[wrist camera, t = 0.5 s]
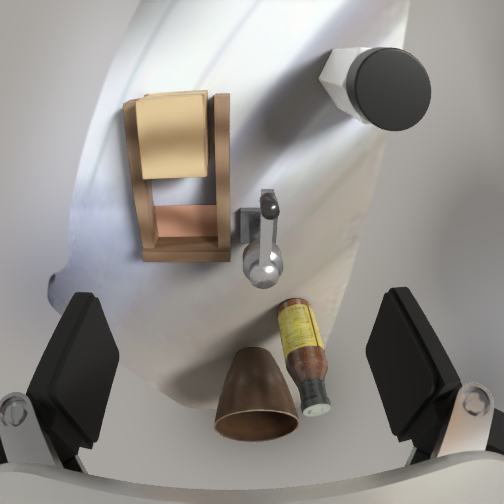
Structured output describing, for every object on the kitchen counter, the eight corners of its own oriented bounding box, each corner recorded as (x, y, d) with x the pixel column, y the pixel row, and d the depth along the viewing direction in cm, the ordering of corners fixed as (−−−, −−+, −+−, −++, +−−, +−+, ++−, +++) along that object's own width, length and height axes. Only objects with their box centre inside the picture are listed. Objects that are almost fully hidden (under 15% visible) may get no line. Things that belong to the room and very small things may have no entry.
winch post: (240, 207, 43) (241, 250, 35) (277, 208, 44) (286, 249, 35) (240, 238, 46) (241, 285, 38) (275, 238, 46) (283, 284, 38)
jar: (364, 122, 37) (406, 150, 27) (309, 93, 35) (337, 110, 25) (393, 66, 32) (446, 76, 22) (339, 33, 30) (379, 27, 20)
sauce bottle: (269, 313, 55) (280, 415, 39) (292, 290, 52) (312, 396, 36) (297, 326, 57) (315, 423, 41) (320, 305, 55) (346, 404, 38)
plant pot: (282, 378, 68) (289, 441, 54) (215, 375, 66) (213, 441, 53) (296, 336, 59) (309, 409, 46) (217, 332, 58) (214, 408, 45)
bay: (130, 100, 34) (120, 105, 31) (229, 93, 34) (228, 97, 31) (149, 245, 46) (143, 261, 43) (230, 245, 47) (230, 261, 43)
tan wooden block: (148, 93, 34) (133, 100, 29) (209, 89, 34) (203, 95, 29) (154, 162, 39) (141, 180, 34) (210, 160, 39) (206, 177, 34)
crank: (250, 186, 31) (252, 203, 27) (283, 187, 31) (289, 204, 28) (248, 280, 37) (250, 303, 34) (276, 280, 37) (279, 302, 34)
